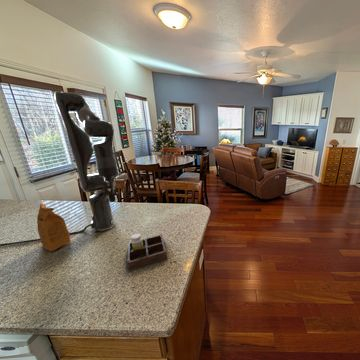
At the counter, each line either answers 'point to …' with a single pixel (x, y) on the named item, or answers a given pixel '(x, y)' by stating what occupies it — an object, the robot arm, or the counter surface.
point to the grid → (147, 252)
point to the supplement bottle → (137, 242)
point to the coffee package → (51, 229)
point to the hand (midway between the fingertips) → (113, 197)
